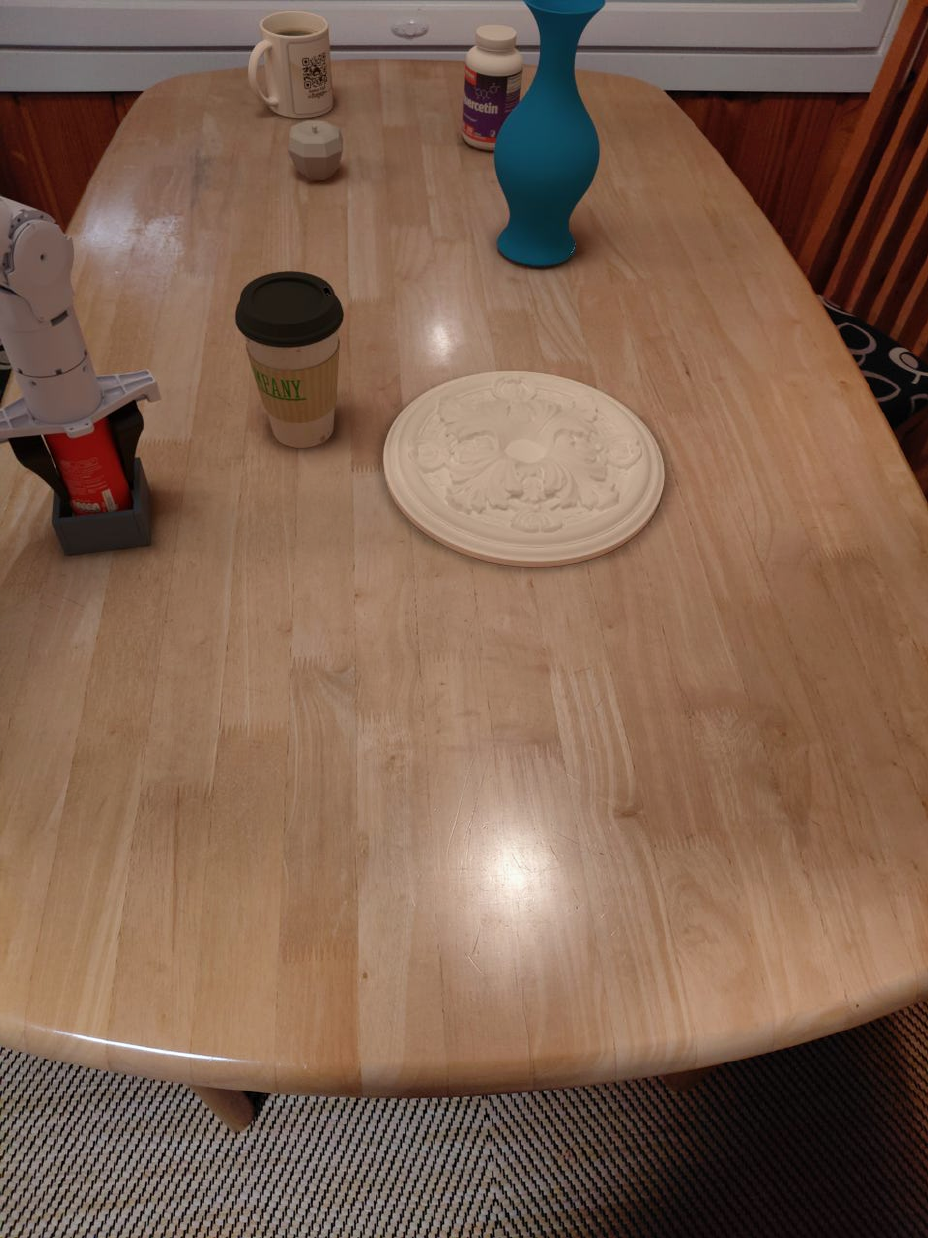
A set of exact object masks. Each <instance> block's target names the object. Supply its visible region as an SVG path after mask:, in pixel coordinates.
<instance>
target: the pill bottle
mask: <svg viewBox="0 0 928 1238" xmlns="http://www.w3.org/2000/svg"><path fill="white" fill-rule="evenodd" d="M475 44H476V45H473V46H472V47H471V48H470V49H469V50H468V51H467V52H466V55H465V60H464V80H463V81H464V84H463V106H462V121H461V135H462V138H463V140H464V142H466V143H467V144H468V145H470V146H471V147H473V148H476V149H479V150H484V151H493V152H494V146H495V142H496V138H497V135H498V133H499V130H500V128H501V126H502V125H503V123H504V121H505V120H506V118H507V117H508V115H509V114H510V113H511V112H512V110H513V109H514V108H515V107H516V106H517V105H518V103H519V102H520V101H521V92H522V91H521V89H522V81H523V80H522V79H523V69H524V58H523V56H522V54H521V52H520V51H519V50H518V49H517V48H516V45H517V31H516V30H515V29H514V28H512V27H510V26H508V25H503V24H496V23H495V24H494V23H493V24H485V25H481V26H479V27H478V28H476V32H475ZM489 146H493V147H489Z"/></svg>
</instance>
